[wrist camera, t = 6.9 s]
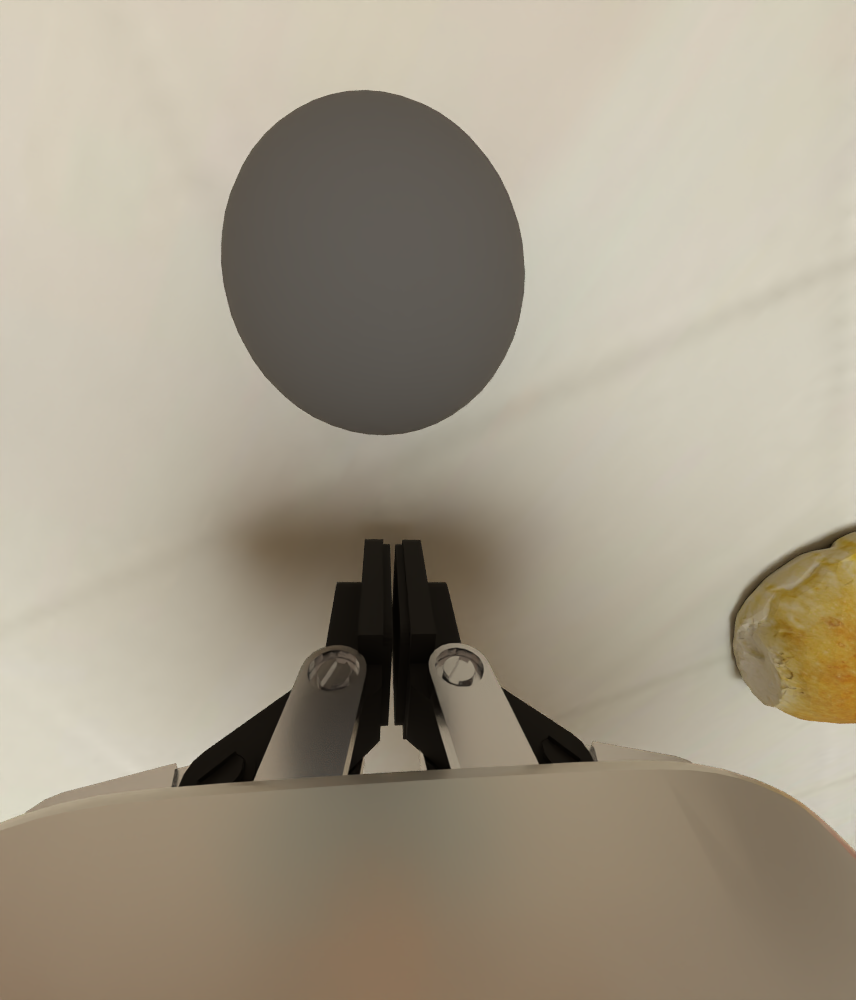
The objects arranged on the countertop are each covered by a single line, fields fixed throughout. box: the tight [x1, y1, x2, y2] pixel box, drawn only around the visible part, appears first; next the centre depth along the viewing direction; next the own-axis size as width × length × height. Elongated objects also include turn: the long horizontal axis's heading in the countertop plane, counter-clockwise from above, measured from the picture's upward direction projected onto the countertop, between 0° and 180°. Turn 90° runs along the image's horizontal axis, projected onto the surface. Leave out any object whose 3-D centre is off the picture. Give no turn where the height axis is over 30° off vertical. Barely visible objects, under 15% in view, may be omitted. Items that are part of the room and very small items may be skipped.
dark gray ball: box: [221, 90, 525, 435], centre depth 8 cm, size 6×6×6 cm
